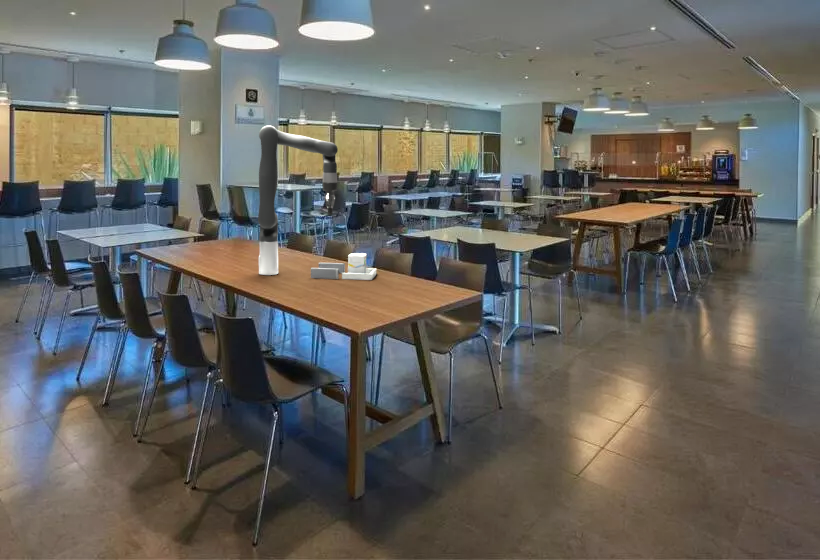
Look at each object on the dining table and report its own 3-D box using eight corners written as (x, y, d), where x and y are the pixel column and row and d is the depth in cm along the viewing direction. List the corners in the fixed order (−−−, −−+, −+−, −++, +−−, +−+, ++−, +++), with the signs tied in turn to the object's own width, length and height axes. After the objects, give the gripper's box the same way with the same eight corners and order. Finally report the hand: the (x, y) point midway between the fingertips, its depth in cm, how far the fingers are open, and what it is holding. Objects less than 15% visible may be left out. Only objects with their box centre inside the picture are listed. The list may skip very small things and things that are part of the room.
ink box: (364, 278, 309) (364, 255, 307) (347, 277, 310) (347, 255, 307) (366, 275, 317) (366, 253, 315) (350, 274, 318) (350, 252, 316)
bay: (310, 277, 307) (310, 268, 306) (319, 271, 324) (319, 262, 323) (337, 279, 305) (337, 269, 304) (344, 272, 323) (344, 263, 322)
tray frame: (342, 278, 306) (342, 273, 305) (348, 273, 322) (348, 267, 321) (371, 280, 305) (371, 274, 304) (376, 274, 320) (376, 268, 320)
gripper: (326, 180, 322) (326, 213, 325) (319, 181, 309) (319, 215, 312) (340, 181, 321) (340, 213, 324) (333, 182, 308) (333, 216, 312)
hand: (330, 214), depth 318 cm, fingers closed
